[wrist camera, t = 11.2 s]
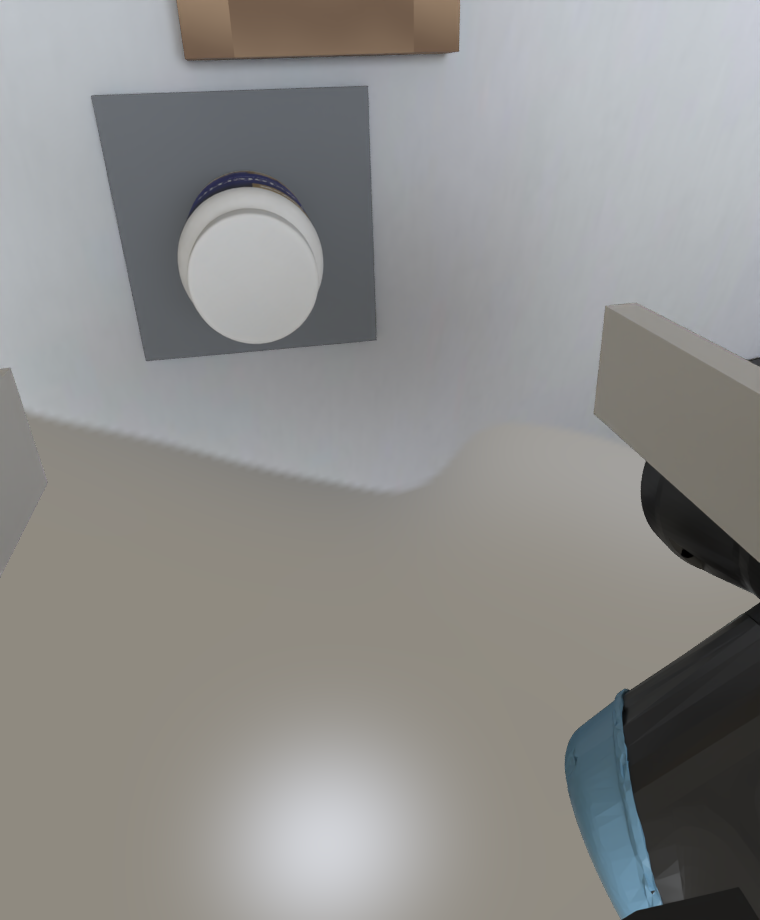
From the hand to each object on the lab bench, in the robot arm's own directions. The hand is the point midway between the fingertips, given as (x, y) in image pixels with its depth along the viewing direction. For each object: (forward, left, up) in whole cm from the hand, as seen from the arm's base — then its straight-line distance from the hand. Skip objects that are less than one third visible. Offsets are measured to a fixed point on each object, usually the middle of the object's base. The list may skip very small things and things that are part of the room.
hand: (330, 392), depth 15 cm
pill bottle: (0, +1, -21) cm, 21 cm away
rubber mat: (0, +1, -21) cm, 21 cm away
